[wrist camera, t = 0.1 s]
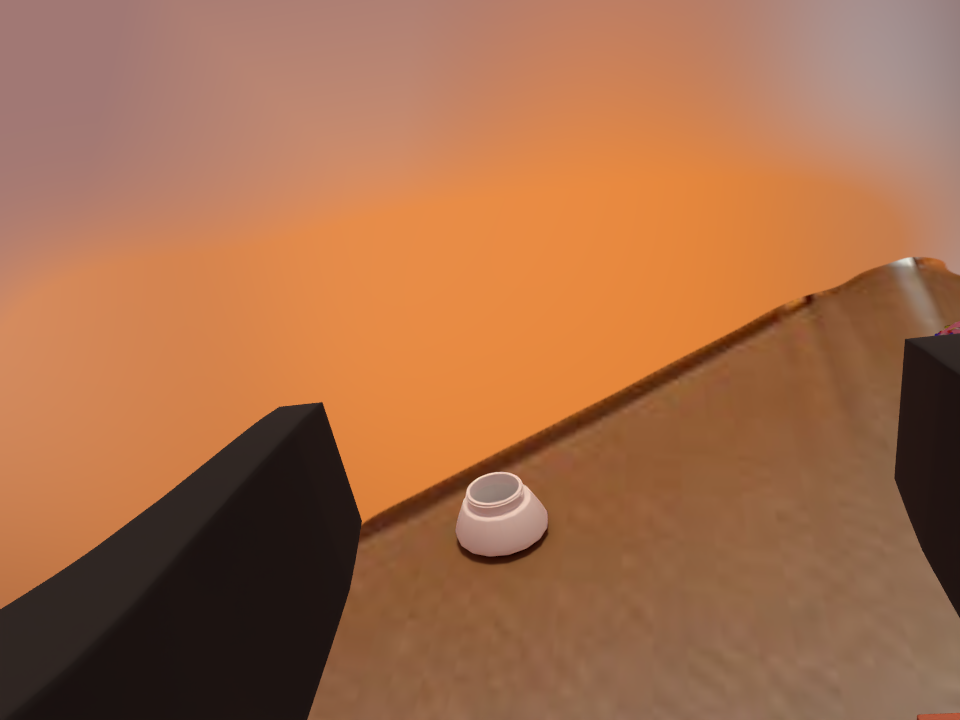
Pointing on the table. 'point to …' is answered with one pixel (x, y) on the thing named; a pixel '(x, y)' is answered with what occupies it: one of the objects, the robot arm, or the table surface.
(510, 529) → the lidless jar
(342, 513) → the robot arm
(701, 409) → the table surface
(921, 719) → the red tray
